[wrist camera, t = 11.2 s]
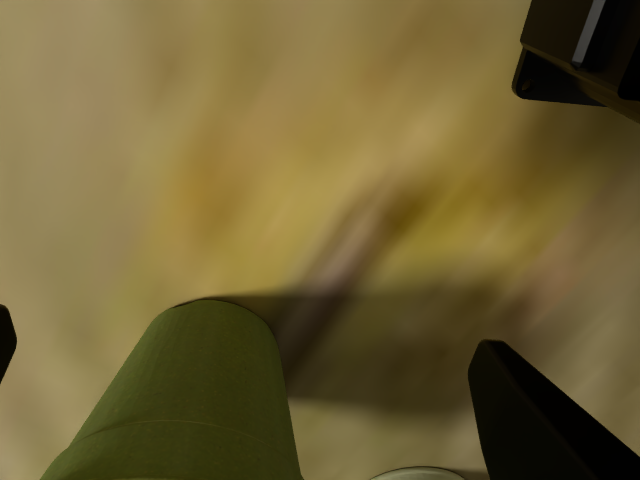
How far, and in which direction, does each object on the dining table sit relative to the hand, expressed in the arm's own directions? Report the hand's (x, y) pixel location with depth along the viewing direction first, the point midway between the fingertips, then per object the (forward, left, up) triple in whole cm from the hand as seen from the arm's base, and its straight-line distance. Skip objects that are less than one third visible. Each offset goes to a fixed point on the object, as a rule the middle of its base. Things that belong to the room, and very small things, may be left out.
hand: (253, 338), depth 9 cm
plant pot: (+3, +13, -12) cm, 18 cm away
